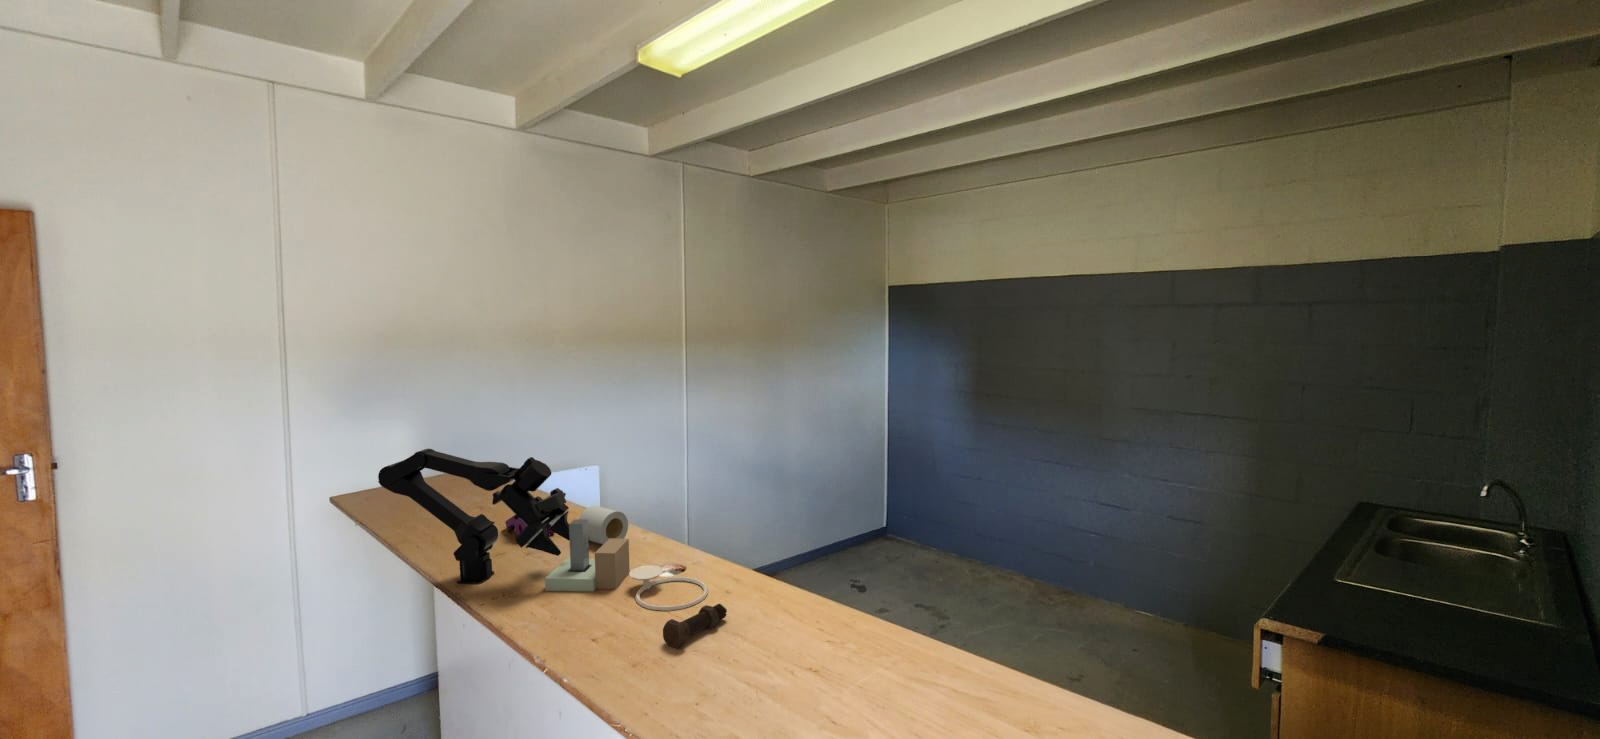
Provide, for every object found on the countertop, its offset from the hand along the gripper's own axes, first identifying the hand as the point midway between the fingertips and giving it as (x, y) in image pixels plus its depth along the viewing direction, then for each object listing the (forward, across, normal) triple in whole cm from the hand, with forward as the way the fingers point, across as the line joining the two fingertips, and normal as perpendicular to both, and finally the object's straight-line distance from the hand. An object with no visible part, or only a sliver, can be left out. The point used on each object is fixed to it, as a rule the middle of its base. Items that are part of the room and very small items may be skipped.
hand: (567, 547), depth 162 cm
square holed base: (+10, 0, +2) cm, 10 cm away
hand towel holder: (+25, -7, -13) cm, 29 cm away
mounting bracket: (-12, +34, +25) cm, 44 cm away
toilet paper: (+6, +27, +6) cm, 28 cm away
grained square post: (+8, 0, +4) cm, 9 cm away
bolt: (+33, -25, -21) cm, 47 cm away
